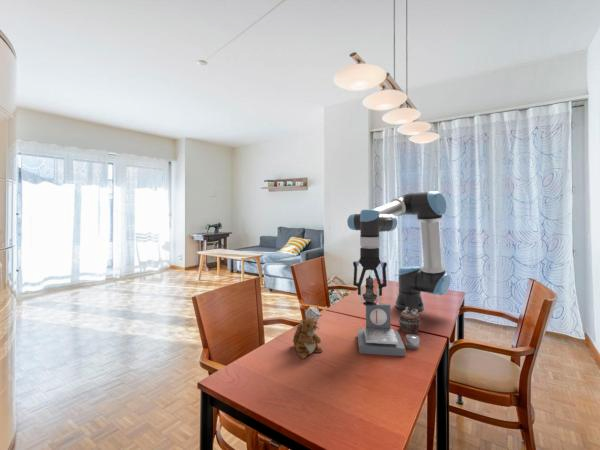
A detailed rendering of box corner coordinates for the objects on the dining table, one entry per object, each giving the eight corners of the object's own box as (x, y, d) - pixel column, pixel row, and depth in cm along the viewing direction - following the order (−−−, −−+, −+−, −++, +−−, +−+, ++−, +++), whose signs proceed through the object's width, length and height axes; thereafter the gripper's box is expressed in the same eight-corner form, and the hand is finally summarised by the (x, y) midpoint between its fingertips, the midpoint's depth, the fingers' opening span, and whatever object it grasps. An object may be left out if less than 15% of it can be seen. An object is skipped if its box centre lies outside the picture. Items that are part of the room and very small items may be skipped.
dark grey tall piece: (360, 301, 123) (360, 273, 122) (374, 301, 123) (374, 273, 122) (364, 306, 117) (364, 276, 116) (379, 306, 117) (378, 276, 117)
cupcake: (399, 324, 141) (399, 303, 140) (421, 327, 137) (421, 306, 136) (397, 331, 132) (397, 309, 132) (420, 335, 128) (420, 312, 128)
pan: (393, 333, 122) (393, 329, 122) (398, 347, 110) (398, 341, 110) (363, 332, 124) (363, 327, 124) (365, 345, 112) (365, 340, 112)
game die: (315, 328, 145) (327, 312, 146) (311, 329, 138) (323, 311, 139) (302, 317, 149) (313, 301, 150) (297, 317, 142) (309, 300, 143)
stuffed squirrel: (303, 360, 107) (303, 325, 107) (285, 345, 119) (285, 314, 119) (325, 353, 112) (325, 320, 112) (306, 340, 124) (306, 309, 124)
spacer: (417, 343, 120) (417, 334, 119) (420, 349, 115) (420, 339, 115) (404, 343, 120) (404, 333, 120) (407, 348, 116) (407, 338, 115)
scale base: (397, 338, 125) (398, 303, 125) (405, 356, 109) (405, 317, 109) (357, 335, 128) (357, 302, 127) (359, 353, 112) (359, 315, 111)
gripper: (392, 246, 121) (392, 301, 122) (346, 245, 124) (346, 299, 125) (394, 248, 113) (394, 307, 114) (346, 248, 117) (346, 304, 118)
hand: (369, 302), depth 120 cm, fingers closed on dark grey tall piece, 6 cm apart
